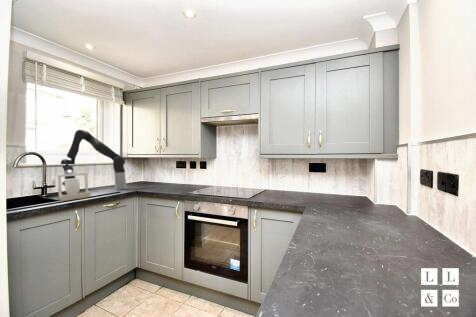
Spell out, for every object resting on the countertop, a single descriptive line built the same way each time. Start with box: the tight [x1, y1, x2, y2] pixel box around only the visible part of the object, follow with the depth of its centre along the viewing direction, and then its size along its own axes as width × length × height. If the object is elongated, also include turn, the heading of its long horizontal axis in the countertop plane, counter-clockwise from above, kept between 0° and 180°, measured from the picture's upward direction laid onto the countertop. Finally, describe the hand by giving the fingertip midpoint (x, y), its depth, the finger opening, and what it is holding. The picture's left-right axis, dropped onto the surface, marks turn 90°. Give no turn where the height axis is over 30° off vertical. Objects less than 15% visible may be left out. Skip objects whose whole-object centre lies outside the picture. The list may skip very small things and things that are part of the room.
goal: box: [57, 172, 92, 201], centre depth 178 cm, size 14×20×20 cm
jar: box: [64, 177, 81, 195], centre depth 187 cm, size 11×10×15 cm
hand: (71, 190), depth 191 cm, fingers closed
